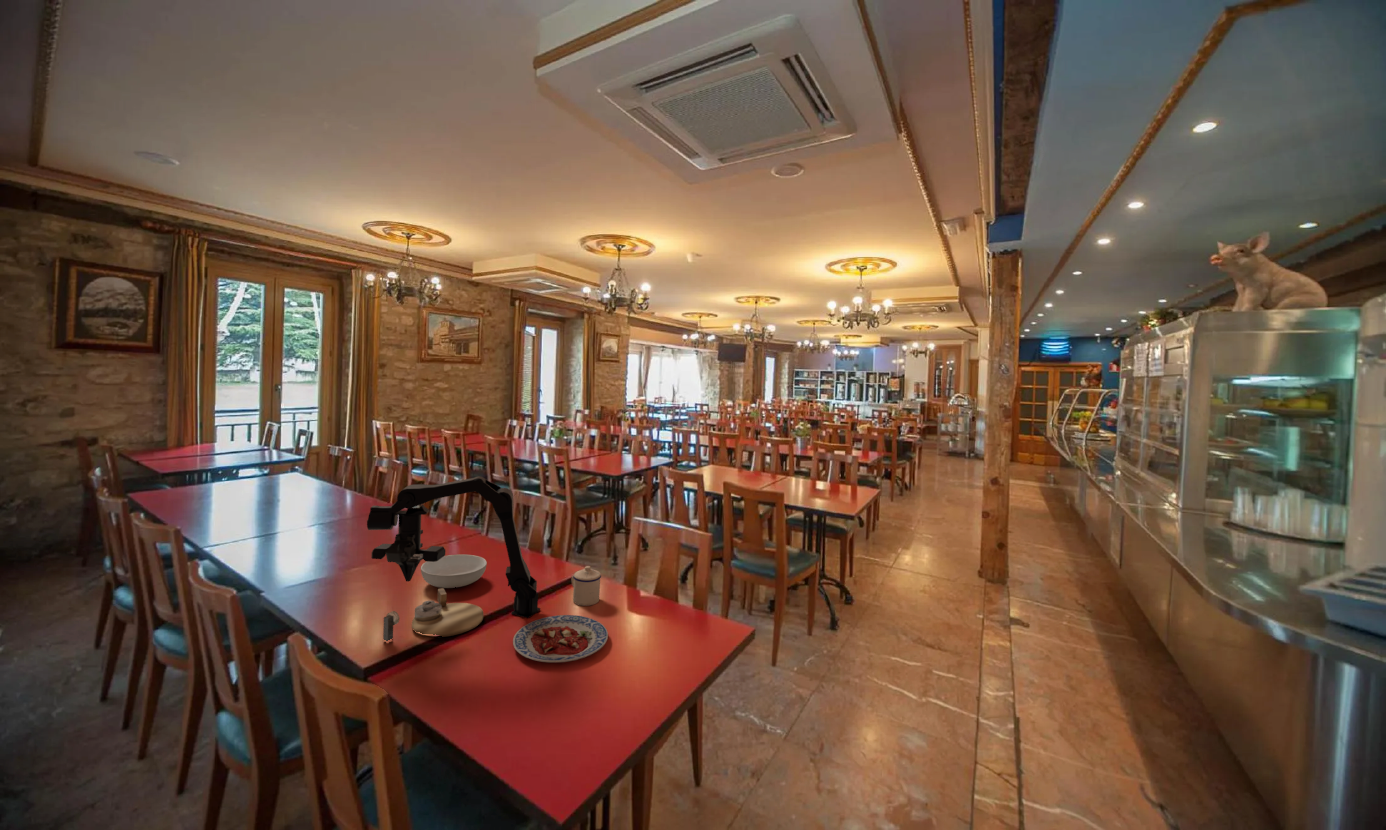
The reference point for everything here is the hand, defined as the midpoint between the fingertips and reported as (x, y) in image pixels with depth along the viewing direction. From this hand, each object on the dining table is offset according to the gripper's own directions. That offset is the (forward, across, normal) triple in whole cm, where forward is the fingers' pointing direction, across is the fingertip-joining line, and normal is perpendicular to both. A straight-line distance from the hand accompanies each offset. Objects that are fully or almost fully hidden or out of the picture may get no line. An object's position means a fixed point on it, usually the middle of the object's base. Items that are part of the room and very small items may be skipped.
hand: (408, 581), depth 147 cm
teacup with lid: (+12, +48, +20) cm, 53 cm away
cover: (+10, +6, 0) cm, 12 cm away
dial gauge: (+12, +1, -12) cm, 17 cm away
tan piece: (+12, +12, 0) cm, 17 cm away
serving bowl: (+12, +1, +28) cm, 31 cm away
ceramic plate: (+12, +47, -8) cm, 50 cm away
